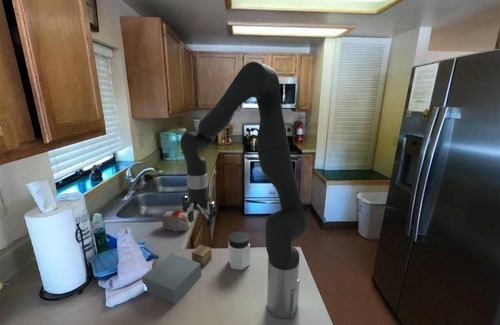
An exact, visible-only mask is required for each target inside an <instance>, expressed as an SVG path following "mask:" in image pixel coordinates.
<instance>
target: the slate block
mask: <svg viewBox="0 0 500 325" xmlns="http://www.w3.org/2000/svg"><path fill="white" fill-rule="evenodd" d="M201 277H202V267H201V263H198V262H195V261H192V259H189V258H186V257H184V256H180V255H178V254H175V253H169V254H168V255H167V256H166V257H164V259H162V260H161V261H160V262H158V263H157V264H156V265H154V266H153V267H152V268H150V269H149V270H148V271H147V272H145V274H143V275H142V276H141V279H142V280H141V281H142V284H143V283H144V284H145V285H146V287H147V292H146V293H148V294H150V295H153V296H155V297H156V298H159V299H161V300H163V301H164V302H165V301H166V302H169V303H170V304H172V305H176V306H177V303H178V302H179V301H181V299H182V298H183V297H184V296H185V295H186V293H188V292H189V291H190V289H191V288H193V287H194V285H195V284H196V283H197V282H198V281H199V280H200V278H201Z"/></svg>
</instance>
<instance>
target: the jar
mask: <svg viewBox="0 0 500 325" xmlns="http://www.w3.org/2000/svg"><path fill="white" fill-rule="evenodd" d="M227 241H228V243H227V246H228V249H227V250H228V262H229V265H230V269H233V270H238V271H239V270H240V271H242V270H244V269H246V268H247V267H249V266H250V265H251V243H250V235H249V234H248V233H247V232H245V231H234V232H232V233H230V234H229V236H228V240H227Z"/></svg>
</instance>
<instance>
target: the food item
mask: <svg viewBox="0 0 500 325" xmlns="http://www.w3.org/2000/svg"><path fill="white" fill-rule="evenodd" d="M161 219H162V227H163V228H162V229H163V230H164V229H166V230H167V229H168V230H169V231H172V230H173V231H172V232H174V231H175V232H187V230H188V229H190V227H191V222H189V220H188V214H187V212H182V210H180V209H175V210H174V211H170V210H169V211H166V212H165V213H164V214H162V216H161Z"/></svg>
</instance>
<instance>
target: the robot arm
mask: <svg viewBox="0 0 500 325" xmlns="http://www.w3.org/2000/svg"><path fill="white" fill-rule="evenodd" d="M280 86H281V85H280V78H279V75H278V74H277V71H275V69H274V68H273V67H271V66H269V65H267V64H264V63H262V62H259V61H250V62H247V63H246V64H245V65H243V66H242V67H241V68H240V70H239V71H238V72H237V74H236V76H235V77H234V78H233V80H232V82H231V84H230V85H229V86H228V88H227V89H226V91H225V92H224V94H223V95H222V96H221V98H220V99H219V100H218V102H217V103H216V104H215V105H214V107H213V108H212V109H211V110H210V111H209V112H208V113H207V114H206V115H204V117H202V119H201V120H200V121H199V123H198V129H197V130H194V131H187V132H184V133H183V134H182V135H181V137H180V140H179V141H180V149H181V151H182V154H183V158H184V160H185V164H186V171H187V172H186V173H187V176H186V177H187V178H186V186H187V194H186V195H185V196H182V210H183V212H185V213H187V214H188V220H189V222H190V223H192V222H194V220H195V218H194V212H193V211H198V212H201V213H202V215H204V216H205V221H206V222H205V223H206V228H211V226H212V225H213V219H214V218H215V217H217V205H216V204H217V203H216V201H209V178H208V167H207V159H206V158H205V157H204V156H199V153H198V151H202V150H205V149H206V148H209V147H210V145H211V144H212V143H213V141H214V140H215V138H216V136H218V135H219V134H220V133H221V132H222V131H223V130H225V128H226V127H227V126H229V125H230V123H231V121H232V119H233V118H234V117H233V116H234V114H235V112H236V111H237V110H238V108H239V107H240V106H241V105H242V104H244V103H245V102H246V101H249V100H250V99H251V98H254V99H256V103H257V108H258V113H259V126H258V131H257V138H256V151H257V156H258V157H257V158H258V162H259V166H260V168H261V171H262V172H263V174H264V176H265V177H266V178H267V179H268V180H269V182H270V183H271V185H273V187H274V189H275V190H276V192H277V195H278V199H279V203H280V209H279V210H277V211H276V212H273V213H272V214H270V215H268V217H267V219H266V222H265V248H266V253H267V256H268V258H267V293H266V295H267V297H266V306H267V307H266V308H267V310H268V312H269V313H270V314H271V315H272V316H274V317H276V318H278V319H291V320H292V319H294V317H295V313H296V311H297V308H298V306H299V295H300V294H299V292H300V282H301V281H300V279H299V272H300V271H299V269H300V252H299V251H298V249H297V248H296V247H295V246H293V245H292V242H294V241H296V240H297V239H298V238H300V237H302V236H303V235H304V234H305V232H306V231H307V226H308V224H307V218H306V217H307V216H306V213H305V210H304V207H303V203H302V199H301V197H300V193H299V190H298V185H297V181H296V180H297V179H296V177H295V172H294V166H293V161H292V160H293V159H292V155H291V150H290V143H289V140H288V135H287V130H286V124H285V118H284V114H283V109H282V98H281V96H282V95H281V87H280Z"/></svg>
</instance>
